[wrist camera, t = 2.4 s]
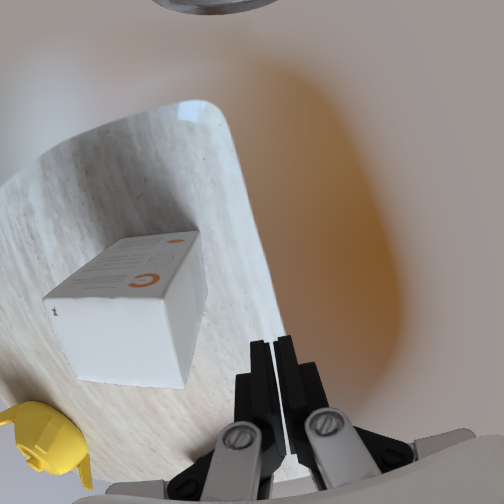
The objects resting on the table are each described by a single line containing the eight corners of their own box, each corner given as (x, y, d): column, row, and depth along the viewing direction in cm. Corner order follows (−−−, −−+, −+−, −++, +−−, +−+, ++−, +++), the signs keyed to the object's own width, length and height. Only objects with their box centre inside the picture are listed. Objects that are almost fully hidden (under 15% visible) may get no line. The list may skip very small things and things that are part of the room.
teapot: (66, 401, 33) (36, 453, 21) (109, 457, 38) (93, 503, 26) (10, 387, 33) (-19, 425, 21) (50, 441, 38) (31, 478, 26)
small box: (133, 297, 27) (74, 381, 14) (120, 237, 25) (38, 296, 12) (210, 293, 27) (187, 392, 14) (202, 229, 25) (161, 294, 12)
